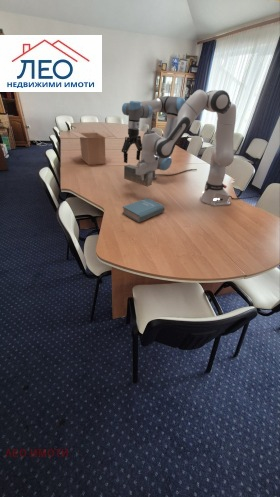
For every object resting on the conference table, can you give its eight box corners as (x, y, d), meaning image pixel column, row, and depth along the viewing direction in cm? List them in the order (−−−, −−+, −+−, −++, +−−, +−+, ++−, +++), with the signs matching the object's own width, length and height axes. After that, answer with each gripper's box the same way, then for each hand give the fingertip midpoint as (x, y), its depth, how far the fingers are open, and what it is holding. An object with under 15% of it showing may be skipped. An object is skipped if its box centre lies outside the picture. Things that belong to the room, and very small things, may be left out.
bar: (124, 178, 165) (124, 165, 160) (128, 177, 169) (129, 164, 163) (147, 186, 155) (148, 173, 149) (151, 185, 158) (153, 171, 152)
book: (146, 204, 158) (147, 197, 155) (163, 212, 149) (164, 206, 146) (122, 213, 145) (122, 206, 142) (139, 223, 136) (140, 216, 133)
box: (116, 165, 229) (116, 136, 213) (83, 168, 214) (80, 137, 198) (102, 154, 259) (101, 128, 243) (71, 156, 244) (68, 129, 228)
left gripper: (125, 130, 139) (123, 165, 151) (149, 128, 155) (146, 160, 167) (116, 128, 142) (116, 162, 155) (141, 126, 159) (138, 157, 171)
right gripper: (141, 162, 139) (140, 183, 147) (160, 156, 152) (158, 176, 161) (134, 160, 142) (133, 181, 150) (152, 155, 155) (151, 174, 164)
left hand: (131, 161), depth 161 cm, fingers open, 13 cm apart
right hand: (146, 178), depth 156 cm, fingers closed on bar, 5 cm apart
